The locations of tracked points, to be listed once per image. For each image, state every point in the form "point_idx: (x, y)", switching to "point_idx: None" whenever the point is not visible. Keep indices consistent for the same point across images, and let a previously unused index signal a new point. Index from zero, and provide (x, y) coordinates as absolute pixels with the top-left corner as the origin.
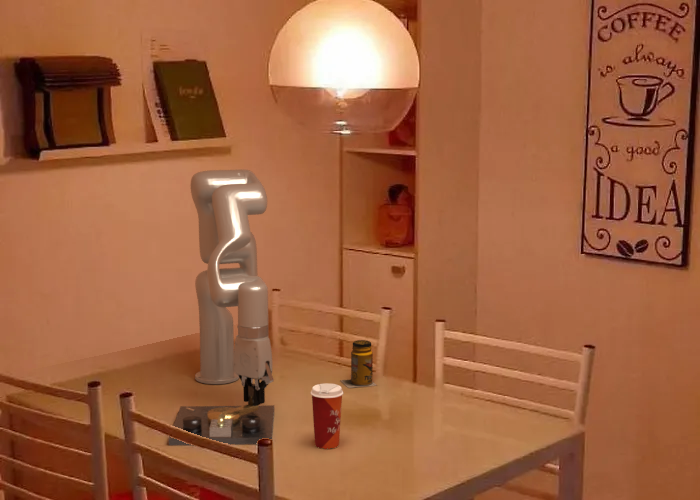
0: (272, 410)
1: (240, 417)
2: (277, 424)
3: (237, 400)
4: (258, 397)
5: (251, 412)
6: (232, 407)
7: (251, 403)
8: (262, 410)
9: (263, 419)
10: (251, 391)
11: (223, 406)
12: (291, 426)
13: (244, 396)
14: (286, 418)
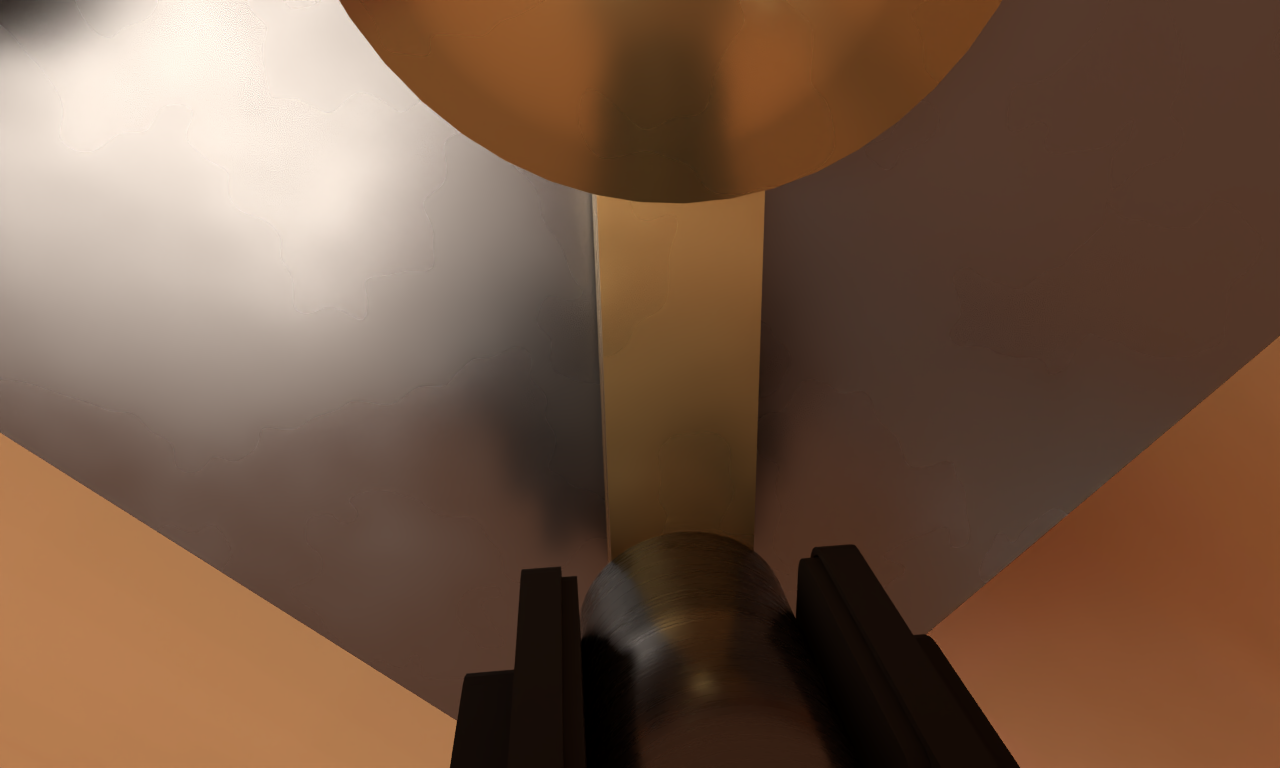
0: None
1: None
2: None
3: (1259, 717)
4: (490, 722)
5: None
6: (1055, 445)
7: (645, 566)
8: None
9: (260, 433)
10: (677, 754)
11: (1196, 378)
12: (31, 633)
13: (864, 605)
14: (352, 751)
